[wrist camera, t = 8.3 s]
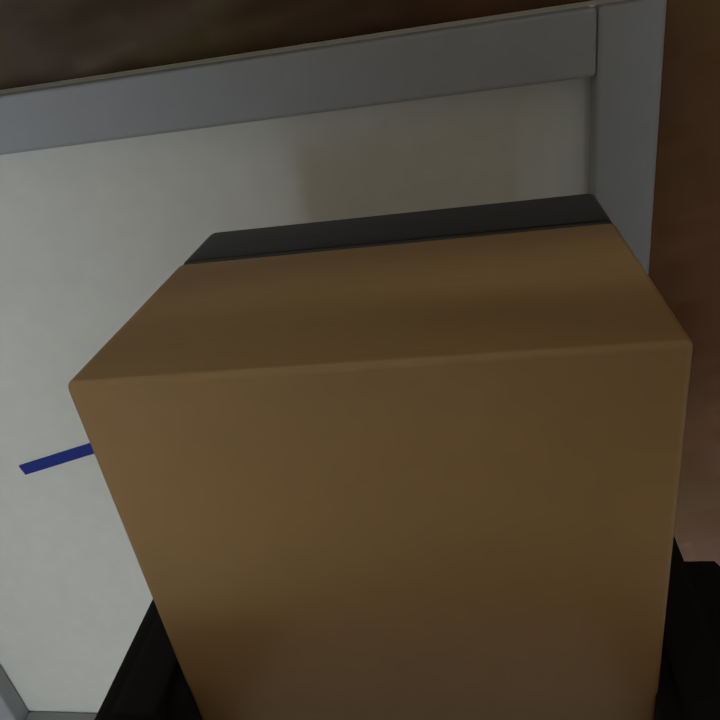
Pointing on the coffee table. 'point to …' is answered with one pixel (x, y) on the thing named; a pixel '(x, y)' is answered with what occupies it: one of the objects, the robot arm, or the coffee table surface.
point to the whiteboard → (249, 211)
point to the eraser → (403, 465)
